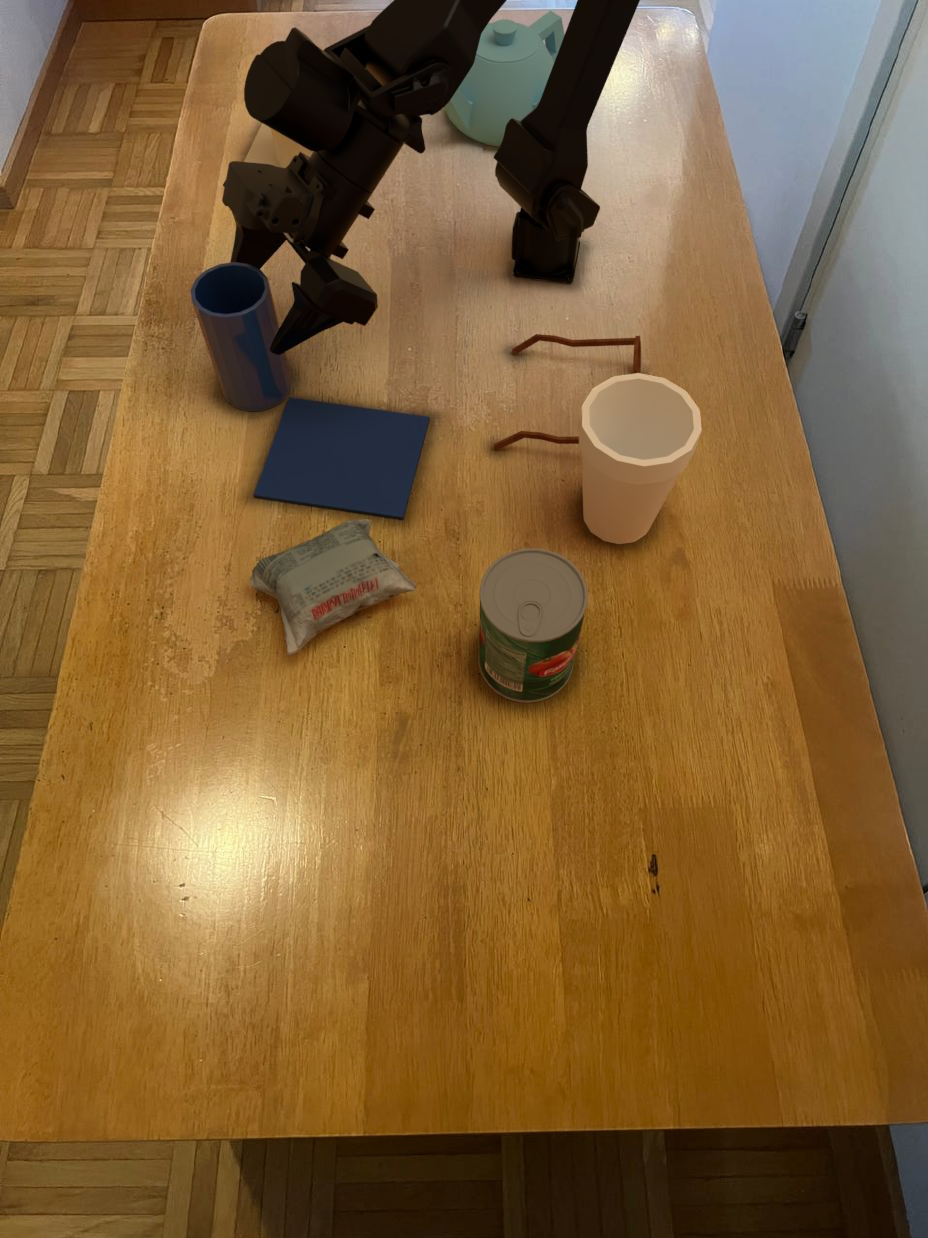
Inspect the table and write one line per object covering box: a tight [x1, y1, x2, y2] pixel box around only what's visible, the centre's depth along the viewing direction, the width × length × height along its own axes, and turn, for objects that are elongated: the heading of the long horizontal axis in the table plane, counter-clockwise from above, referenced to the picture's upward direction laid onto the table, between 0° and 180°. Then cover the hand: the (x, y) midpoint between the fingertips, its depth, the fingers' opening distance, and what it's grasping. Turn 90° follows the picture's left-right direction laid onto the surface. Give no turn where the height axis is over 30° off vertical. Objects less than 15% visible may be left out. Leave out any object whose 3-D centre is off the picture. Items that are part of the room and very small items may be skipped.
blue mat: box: [253, 396, 431, 520], centre depth 87 cm, size 14×12×1 cm
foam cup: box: [578, 373, 703, 545], centre depth 78 cm, size 10×9×13 cm
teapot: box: [444, 10, 565, 148], centre depth 108 cm, size 15×15×11 cm
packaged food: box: [249, 518, 417, 656], centre depth 78 cm, size 9×12×5 cm
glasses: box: [493, 333, 642, 451], centre depth 88 cm, size 13×13×5 cm
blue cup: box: [190, 262, 293, 413], centre depth 87 cm, size 7×7×12 cm
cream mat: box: [243, 123, 280, 167], centre depth 109 cm, size 14×12×1 cm
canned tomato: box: [477, 547, 589, 704], centre depth 72 cm, size 8×8×11 cm
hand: (251, 321), depth 85 cm, fingers open, 9 cm apart
